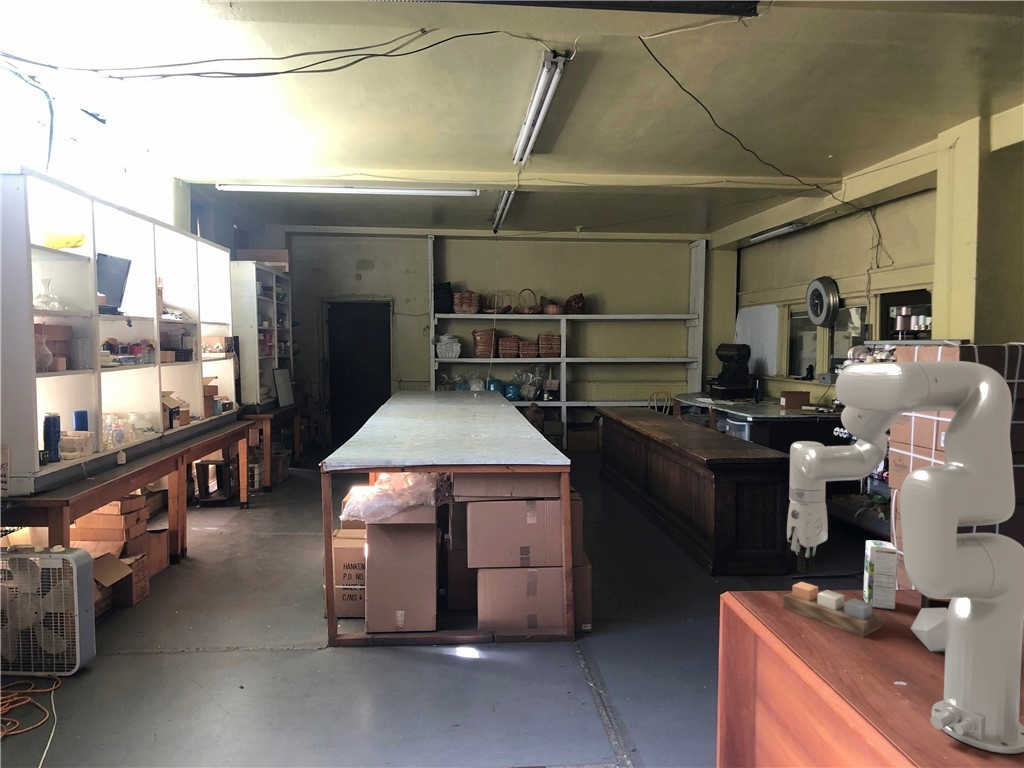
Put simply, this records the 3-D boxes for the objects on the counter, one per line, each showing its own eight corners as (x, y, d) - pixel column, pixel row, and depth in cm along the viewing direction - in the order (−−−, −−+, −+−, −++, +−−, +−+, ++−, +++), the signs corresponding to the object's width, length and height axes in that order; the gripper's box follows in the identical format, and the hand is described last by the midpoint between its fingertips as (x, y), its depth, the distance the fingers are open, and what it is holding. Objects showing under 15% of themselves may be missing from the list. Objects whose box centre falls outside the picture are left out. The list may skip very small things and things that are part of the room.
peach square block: (818, 599, 142) (818, 586, 142) (808, 603, 140) (809, 590, 140) (801, 593, 145) (801, 581, 145) (792, 597, 143) (792, 585, 143)
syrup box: (862, 597, 149) (864, 539, 148) (890, 600, 147) (891, 541, 146) (867, 606, 143) (869, 546, 143) (896, 610, 141) (898, 549, 141)
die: (965, 666, 118) (981, 620, 120) (923, 641, 119) (939, 596, 122) (937, 660, 125) (952, 618, 128) (897, 637, 127) (913, 595, 129)
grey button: (872, 617, 132) (872, 604, 132) (863, 622, 130) (863, 608, 130) (853, 611, 136) (853, 598, 136) (844, 615, 133) (844, 602, 133)
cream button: (844, 608, 137) (844, 595, 137) (835, 612, 135) (835, 599, 135) (826, 602, 141) (826, 589, 140) (817, 606, 138) (817, 593, 138)
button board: (881, 627, 133) (881, 613, 133) (863, 637, 128) (863, 623, 128) (801, 599, 148) (802, 587, 147) (783, 608, 143) (783, 595, 143)
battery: (927, 624, 134) (929, 580, 134) (920, 612, 140) (921, 569, 140) (951, 627, 132) (952, 582, 132) (942, 615, 139) (944, 572, 138)
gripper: (805, 503, 134) (803, 584, 135) (839, 493, 143) (837, 569, 144) (773, 496, 140) (772, 574, 141) (808, 487, 149) (806, 560, 150)
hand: (805, 571), depth 142 cm, fingers closed
